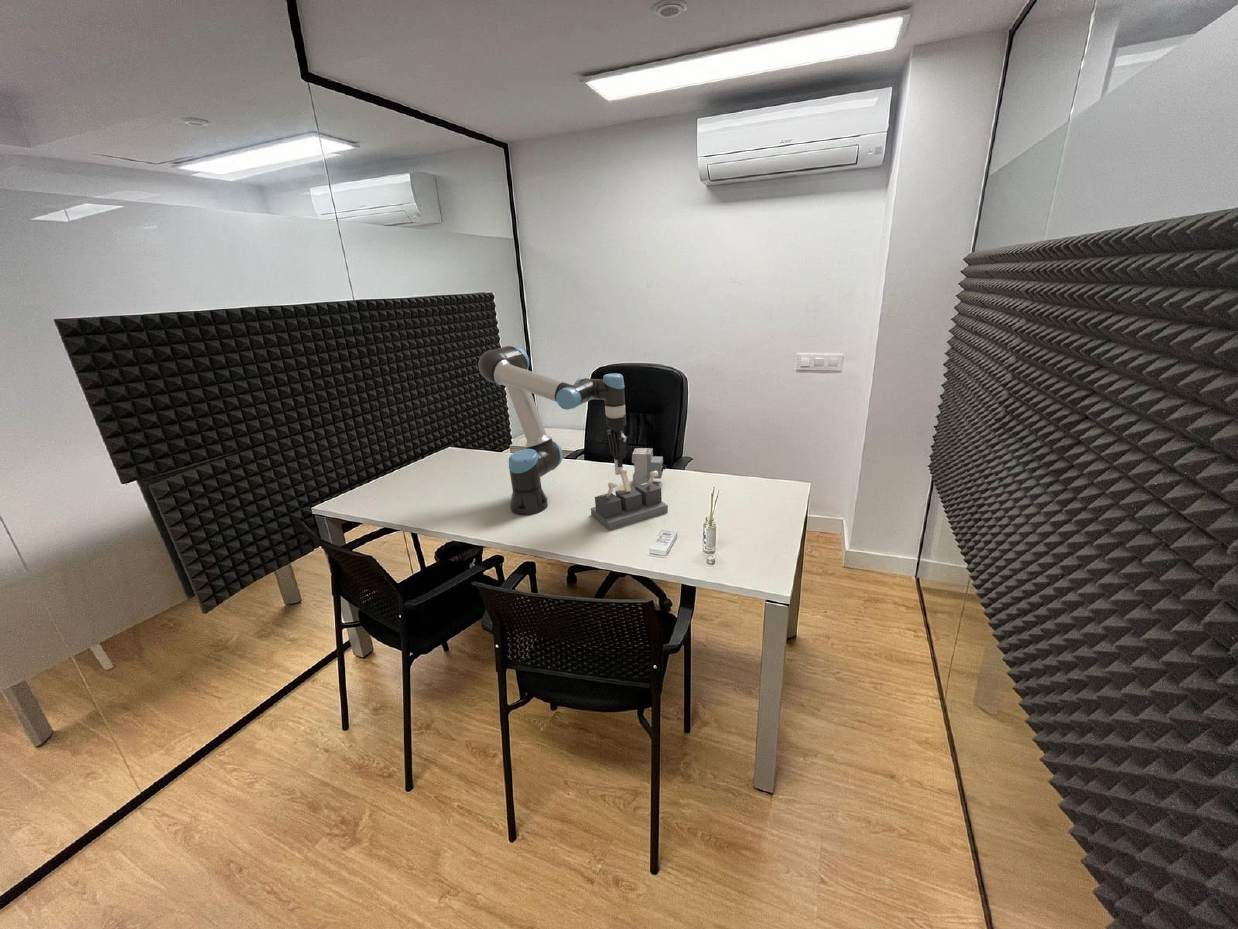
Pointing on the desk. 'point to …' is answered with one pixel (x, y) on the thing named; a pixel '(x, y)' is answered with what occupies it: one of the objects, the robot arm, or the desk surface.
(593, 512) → the breaker board
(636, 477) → the circuit breaker
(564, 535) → the desk surface
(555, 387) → the robot arm
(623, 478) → the handle
